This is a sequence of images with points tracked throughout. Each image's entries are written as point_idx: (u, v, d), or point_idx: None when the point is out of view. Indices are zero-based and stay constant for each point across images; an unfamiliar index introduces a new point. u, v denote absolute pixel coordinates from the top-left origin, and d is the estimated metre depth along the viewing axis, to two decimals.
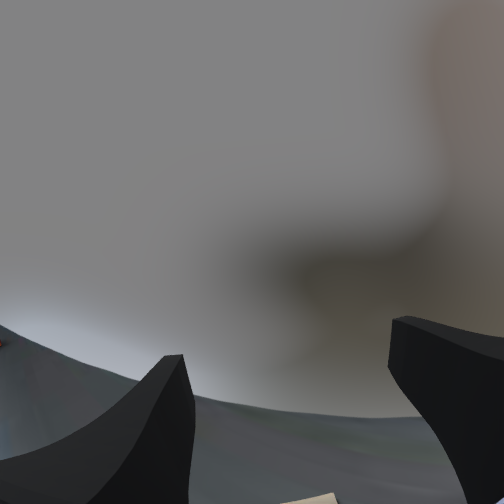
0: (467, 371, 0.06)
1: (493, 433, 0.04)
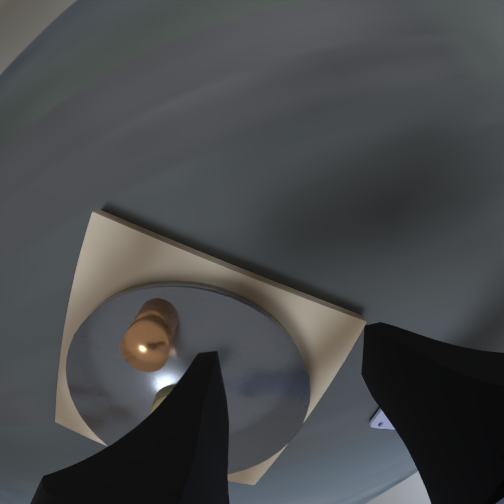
0: (435, 385, 0.06)
1: (463, 452, 0.04)
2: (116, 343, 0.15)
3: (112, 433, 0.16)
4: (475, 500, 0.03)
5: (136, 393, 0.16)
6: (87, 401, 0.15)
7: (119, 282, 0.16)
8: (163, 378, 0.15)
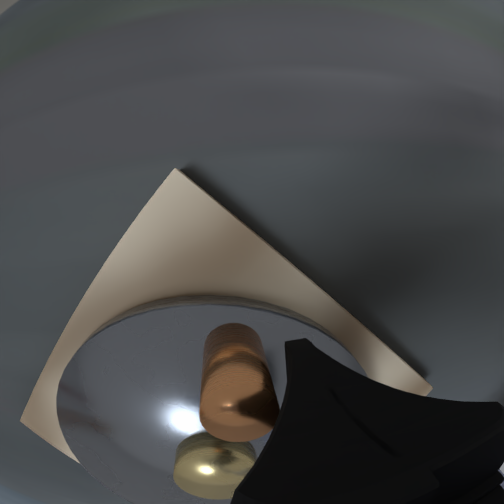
0: None
1: None
2: (153, 369, 0.10)
3: (103, 465, 0.11)
4: None
5: (157, 432, 0.11)
6: (80, 425, 0.10)
7: (181, 282, 0.11)
8: None
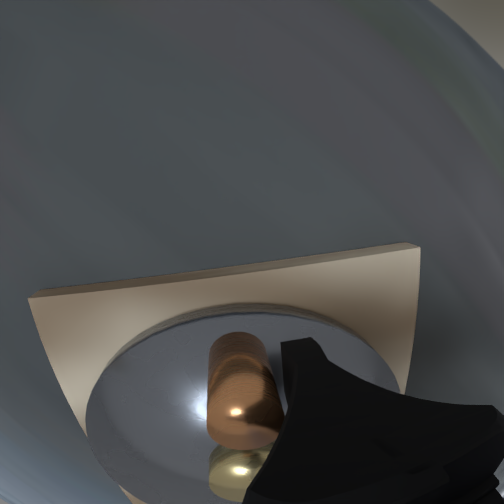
0: None
1: None
2: (167, 390, 0.10)
3: (145, 486, 0.12)
4: None
5: (187, 448, 0.11)
6: (114, 453, 0.11)
7: (358, 320, 0.12)
8: None
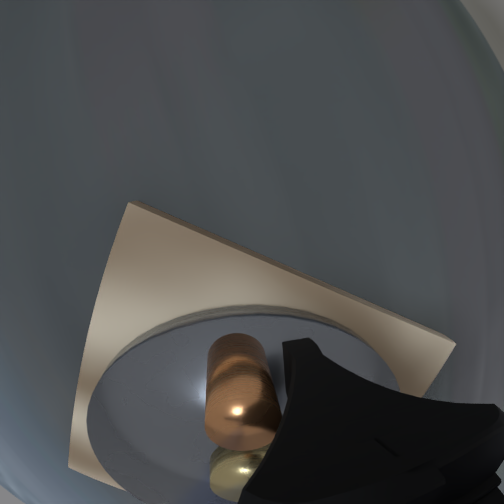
0: None
1: None
2: (166, 392, 0.10)
3: (146, 488, 0.12)
4: None
5: (187, 449, 0.11)
6: (115, 455, 0.11)
7: None
8: None
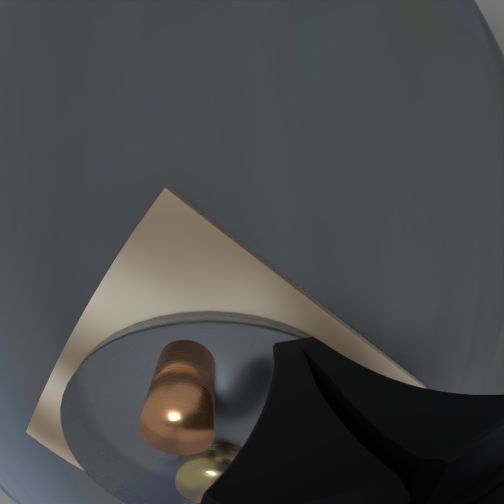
0: (342, 416, 0.05)
1: None
2: (126, 396, 0.10)
3: (124, 488, 0.12)
4: None
5: (154, 451, 0.11)
6: (91, 456, 0.11)
7: None
8: None
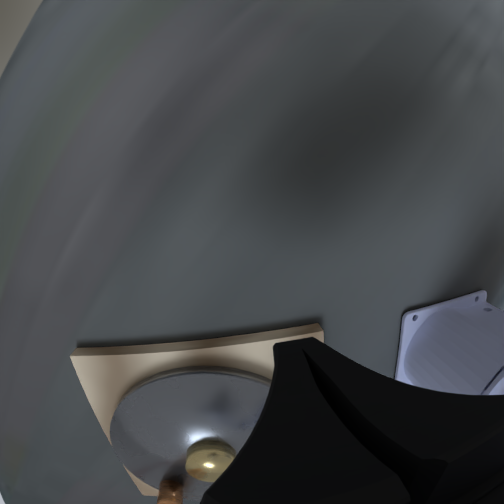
0: (342, 416, 0.05)
1: None
2: None
3: None
4: None
5: None
6: None
7: (117, 392, 0.18)
8: None
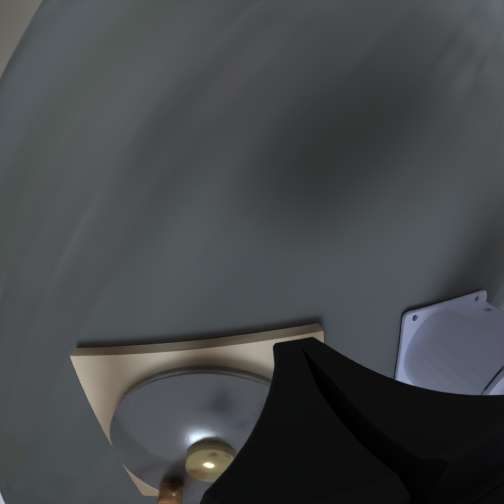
0: (342, 416, 0.05)
1: None
2: None
3: None
4: None
5: None
6: None
7: (117, 392, 0.18)
8: None
